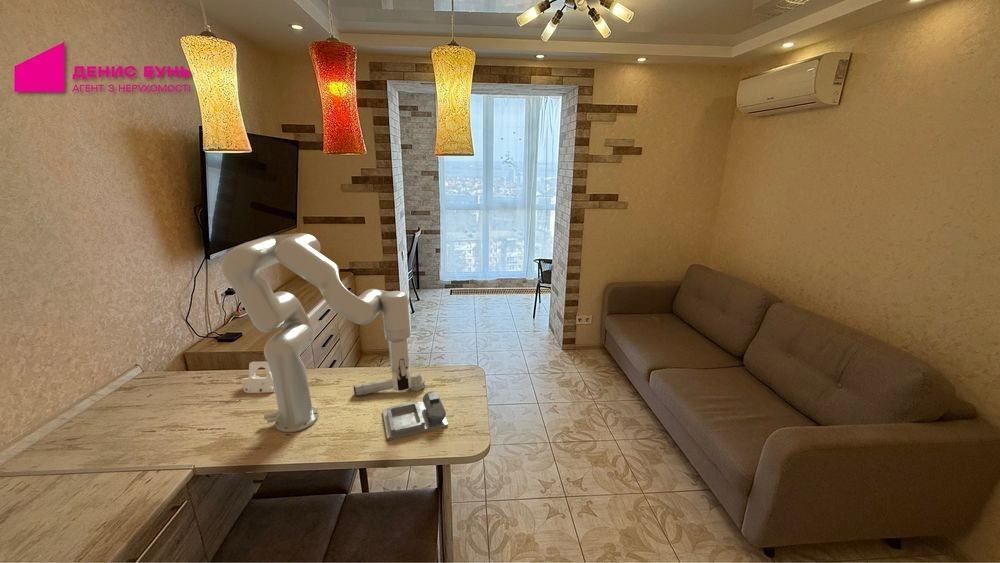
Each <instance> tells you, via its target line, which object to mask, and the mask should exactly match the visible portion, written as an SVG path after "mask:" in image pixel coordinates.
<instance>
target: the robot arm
mask: <svg viewBox="0 0 1000 563" xmlns="http://www.w3.org/2000/svg"><path fill="white" fill-rule="evenodd" d="M321 248H322V247H321V243H320V241H319V239H317V238H316V237H315V236H313V235H312V234H310V233H306V232H305V233H304V232H299V233H291V234H279V235H278V234H276V235H267V236H263V237H260V238H258V239H254V240H251V241H246V242H244V243H242V244H239V245H237V246H235V247H233V248H232V249H230V250H229V251H228V252H227V253H226V254H225V255H224V258H223V260H222V264H221V268H222V273H223V276H224V279H225V280H226V281H227V282H228V284H229V286H230V287H231V289H233V291H234V292H235V293H236V295H237V297H238V300H239V301H240V303H241V305H242V306H243V308H244V309H245V312H246V313H247V315H248V317H249V319H250V321H252V324H253V326H254V327H255V328H256V329H257V330H258V331H259V332H261V333H270V332H273V331H275V330H277V329H278V328H280V327H281V328H282V329H280V330H278V331H277V332H276V333H275V334H273V335H272V336H271V337H270V338H269V339H268V340H267V341H266V343H265V345H264V349H263V356H264V358H265V361H266V362H268V365H269V367H270V370H271V374H272V379H273V384H274V389H275V391H274V393H275V400H276V404H277V409H278V410H275V411H273V412H267V413H264V414H263V419H264V420H265V421H267V423H268V424H269V423H274V425H275V428H276V429H277V430H278V431H279V432H281V433H282V432H283V433H295V432H299V431H303V430H305V429H307V428H308V427H311V426H312V425H313V424H314V423H315V422H316V421H317V420H318V418H319V411H318V409H317V408H316V407H313V406H312V399H311V398H312V397H311V392H310V386H309V380H308V379H309V378H308V373H307V368H306V365H305V364H304V362H303V360H301V354H302V353H303V352H304V351H305V350H306V349H307V348H308V347H309V346H310V345H311V344H313V343H314V340H315V337H316V332H315V329H314V326H313V325H312V322H311V320H310V318H309V316H308V315H307V313H306V310H305V309H304V307H303V305H302V303H301V301H300V300H299V298H297V297H296V296H295V294H293V293H291V292H288V291H284V290H283V291H277V292H275V293H274V291H273V290H272V287H271V285H270V283H269V282H268V281H267V280H266V278H264V277H262V275H260V274H259V272H260V271H262V270H264V269H266V268H268V267H271V266H273V265H275V264H279V263H280V264H281V265H282V266H284V267H286V268H287V269H289V270H291V271H292V272H293V273H294V274H296V275H297V276H299V277H301V278H302V279H304V280H305V281H307V282H308V283H310V284H311V285H313V286H315V287H316V288H317V289H318V290H319V292H320V294H321V295H322V298H324V299H323V300H325V302H326V303H327V304H328V305H329V307H330V308H331V309H332V310H333V311H335V312H336V313H337V314H338V315H340V316H341V317H343V318H345V319H346V320H348V321H350V322H352V323H354V324H355V325H356V324H357V325H367V324H369V323H371V322H372V321H373V320H375V318H377V316H378V315H379V314H382V320H383V331H384V338H385V340H386V341H388V342H387V343H388V352H389V361H390V363H389V364H390V368H391V367H392V369H391V372H392V371H393V372H395V371H397V374H398V379H397V383H398V390H399V391H398V392H401V391H400V390H405V389H408V388H409V383H408V377H407V370H408V368H409V365H410V360H409V348H408V339H409V338H410V337H411V324H410V310H409V309H410V308H409V300H408V295H407V293H406V292H404V291H402V290H393V291H392V290H391V291H387V290H383V289H377V288H369V289H366V290H365V291H363V292H362V293H361V294H360V295H359V296H357V295H355V294H354V293H352V292H351V291H350V290H349V289H347V288H346V287H345V286H344V284H343V283H342V281H341V279H340V275H339V274H340V271H339V269H340V268H339V265H338V264H337V263H335V261H332V260H331V259H330V258H328V257H326V256H325V255H323V253H321ZM399 367H400V369H398V368H399ZM400 371H401V374H400V373H399V372H400ZM409 389H410V388H409ZM409 389H408V390H409ZM405 391H406V390H405Z"/></svg>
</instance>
